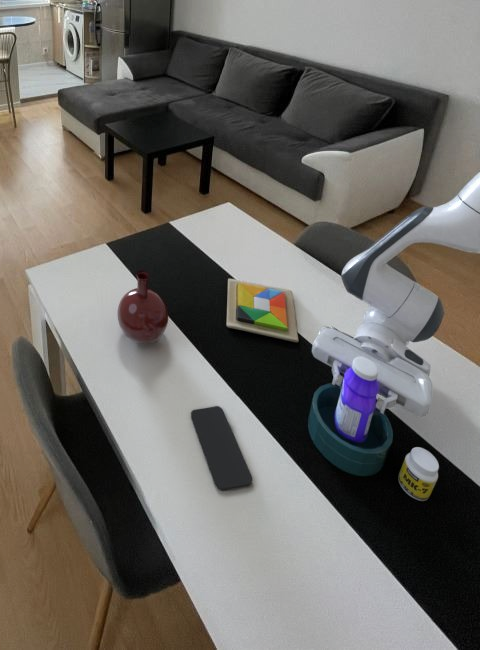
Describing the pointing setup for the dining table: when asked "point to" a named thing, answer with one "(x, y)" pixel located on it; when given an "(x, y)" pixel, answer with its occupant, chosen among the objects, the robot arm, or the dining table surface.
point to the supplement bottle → (419, 473)
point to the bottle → (357, 400)
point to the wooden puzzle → (261, 310)
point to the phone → (221, 449)
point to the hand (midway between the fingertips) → (357, 396)
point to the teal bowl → (341, 450)
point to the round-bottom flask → (142, 312)
